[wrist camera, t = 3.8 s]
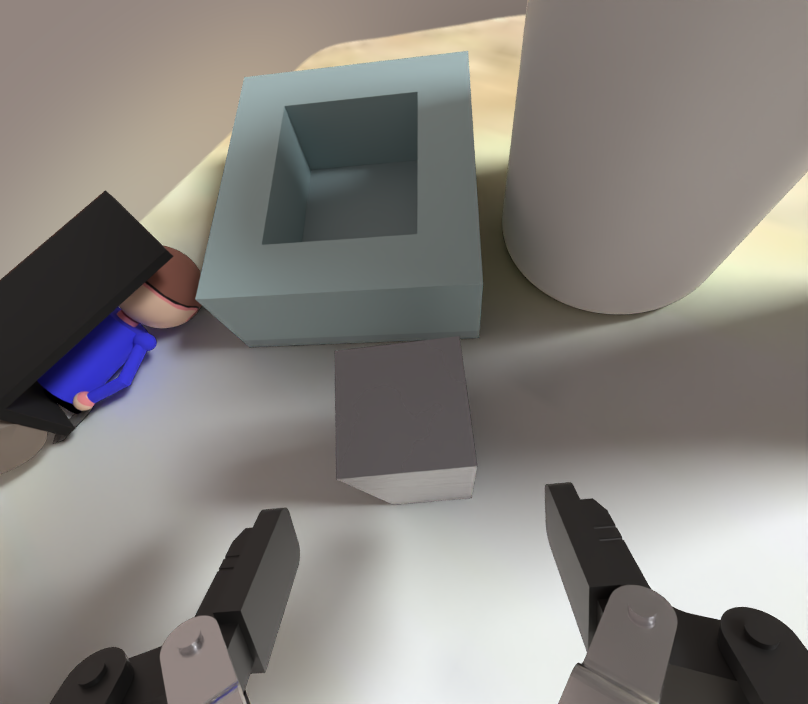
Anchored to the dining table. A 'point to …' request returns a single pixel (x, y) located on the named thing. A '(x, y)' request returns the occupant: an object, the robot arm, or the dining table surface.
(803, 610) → the dining table surface
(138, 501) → the dining table surface
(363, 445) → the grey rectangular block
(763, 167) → the cylinder vase
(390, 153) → the well block
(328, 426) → the dining table surface
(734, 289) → the dining table surface
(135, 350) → the figurine character
